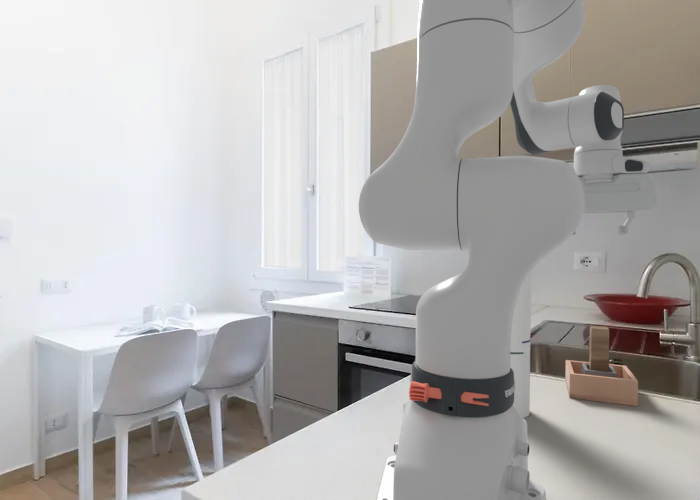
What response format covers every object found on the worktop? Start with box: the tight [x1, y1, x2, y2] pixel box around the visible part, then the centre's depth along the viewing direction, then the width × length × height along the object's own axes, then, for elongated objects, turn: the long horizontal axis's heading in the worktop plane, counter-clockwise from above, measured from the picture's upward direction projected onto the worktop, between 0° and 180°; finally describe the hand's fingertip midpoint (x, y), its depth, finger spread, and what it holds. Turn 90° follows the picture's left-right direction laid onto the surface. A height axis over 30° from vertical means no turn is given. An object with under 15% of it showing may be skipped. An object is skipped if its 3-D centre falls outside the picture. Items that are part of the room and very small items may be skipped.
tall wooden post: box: [588, 325, 610, 372], centre depth 86 cm, size 3×3×12 cm
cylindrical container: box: [510, 271, 532, 419], centre depth 76 cm, size 7×7×25 cm
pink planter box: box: [564, 359, 639, 407], centre depth 86 cm, size 11×11×5 cm
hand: (596, 234), depth 91 cm, fingers open, 8 cm apart
